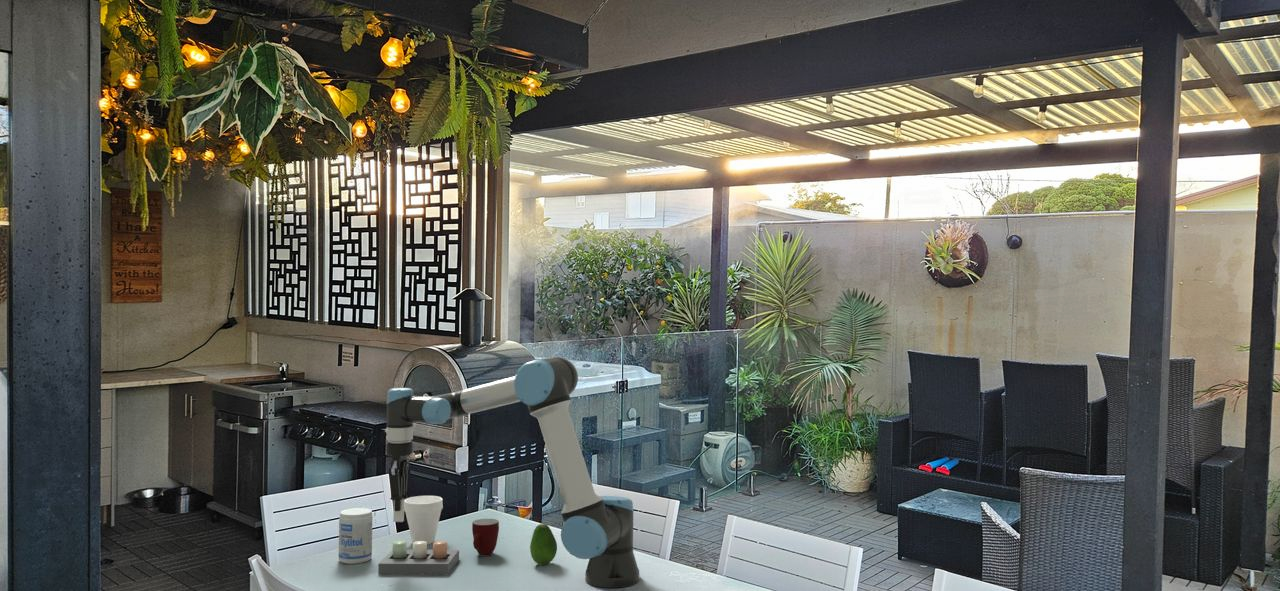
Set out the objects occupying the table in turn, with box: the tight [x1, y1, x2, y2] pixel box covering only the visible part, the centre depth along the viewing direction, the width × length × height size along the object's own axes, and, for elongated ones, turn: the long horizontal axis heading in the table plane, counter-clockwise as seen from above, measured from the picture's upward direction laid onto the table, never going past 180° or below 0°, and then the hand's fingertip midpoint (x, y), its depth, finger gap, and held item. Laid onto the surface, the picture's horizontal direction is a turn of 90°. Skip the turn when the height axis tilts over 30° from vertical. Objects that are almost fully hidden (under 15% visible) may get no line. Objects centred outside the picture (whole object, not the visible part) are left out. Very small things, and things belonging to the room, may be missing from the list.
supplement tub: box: [338, 507, 373, 565], centre depth 262 cm, size 10×10×15 cm
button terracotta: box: [432, 540, 448, 559], centre depth 255 cm, size 4×4×4 cm
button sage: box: [392, 540, 408, 558], centre depth 255 cm, size 4×4×4 cm
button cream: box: [412, 541, 428, 559], centre depth 255 cm, size 4×4×4 cm
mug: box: [471, 518, 500, 557], centre depth 266 cm, size 10×8×10 cm
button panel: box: [377, 549, 460, 575], centre depth 255 cm, size 20×14×3 cm
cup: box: [404, 495, 444, 545], centre depth 282 cm, size 12×12×14 cm
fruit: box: [529, 523, 558, 566], centre depth 257 cm, size 8×8×12 cm
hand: (398, 521), depth 256 cm, fingers closed
